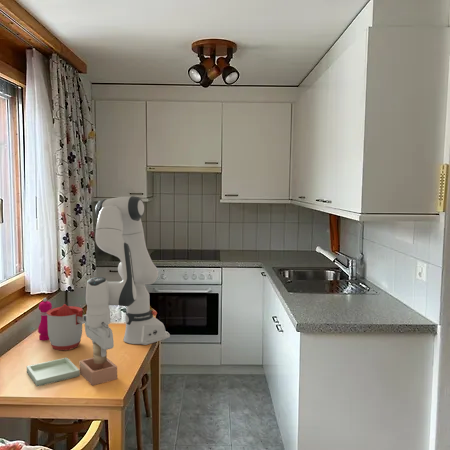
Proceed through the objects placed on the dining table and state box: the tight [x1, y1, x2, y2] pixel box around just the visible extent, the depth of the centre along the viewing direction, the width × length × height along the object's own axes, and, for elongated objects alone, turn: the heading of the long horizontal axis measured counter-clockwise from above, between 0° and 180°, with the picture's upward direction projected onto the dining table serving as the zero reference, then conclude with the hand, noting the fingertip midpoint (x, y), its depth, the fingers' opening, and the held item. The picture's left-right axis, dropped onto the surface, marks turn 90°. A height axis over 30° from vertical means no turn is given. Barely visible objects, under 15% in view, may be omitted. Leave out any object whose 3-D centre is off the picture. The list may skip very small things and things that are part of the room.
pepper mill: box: [37, 297, 53, 342], centre depth 219 cm, size 7×7×20 cm
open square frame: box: [78, 357, 118, 386], centre depth 178 cm, size 10×14×5 cm
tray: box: [26, 357, 81, 387], centre depth 180 cm, size 16×16×2 cm
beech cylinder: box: [92, 343, 108, 364], centre depth 178 cm, size 5×5×7 cm
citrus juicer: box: [47, 303, 85, 351], centre depth 209 cm, size 16×17×20 cm
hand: (99, 353), depth 178 cm, fingers closed on beech cylinder, 5 cm apart
